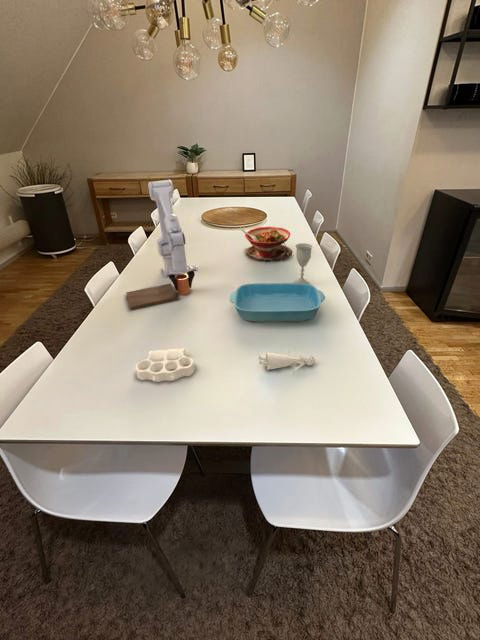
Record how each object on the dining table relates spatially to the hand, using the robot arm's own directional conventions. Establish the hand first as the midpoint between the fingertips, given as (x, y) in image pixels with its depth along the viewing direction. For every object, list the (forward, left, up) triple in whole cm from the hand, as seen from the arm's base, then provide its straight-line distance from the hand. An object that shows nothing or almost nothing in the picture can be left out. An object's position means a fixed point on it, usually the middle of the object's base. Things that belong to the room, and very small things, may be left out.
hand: (183, 288), depth 153 cm
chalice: (+16, +51, -2) cm, 53 cm away
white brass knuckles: (+49, -18, -2) cm, 52 cm away
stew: (-22, +51, -2) cm, 56 cm away
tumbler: (0, 0, -2) cm, 2 cm away
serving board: (-1, -14, -2) cm, 14 cm away
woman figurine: (+63, +18, -2) cm, 66 cm away
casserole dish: (+32, +30, -2) cm, 44 cm away
